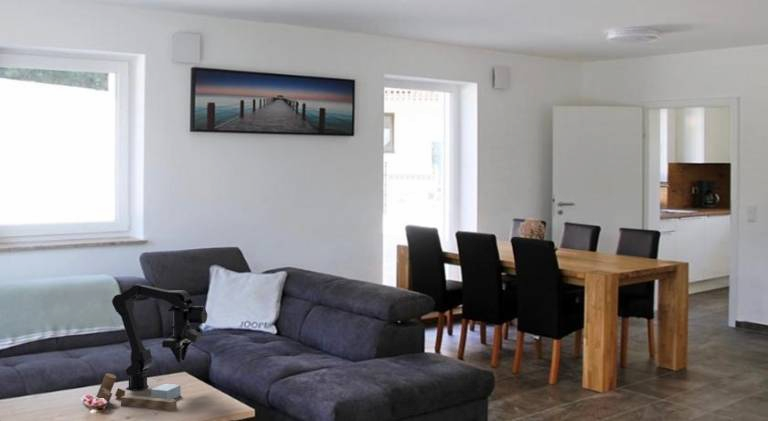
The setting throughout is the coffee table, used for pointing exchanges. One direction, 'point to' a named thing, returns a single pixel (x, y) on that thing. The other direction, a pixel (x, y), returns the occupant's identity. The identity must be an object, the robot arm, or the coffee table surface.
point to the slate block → (166, 391)
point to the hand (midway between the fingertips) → (181, 361)
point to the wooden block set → (109, 388)
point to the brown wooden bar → (148, 402)
